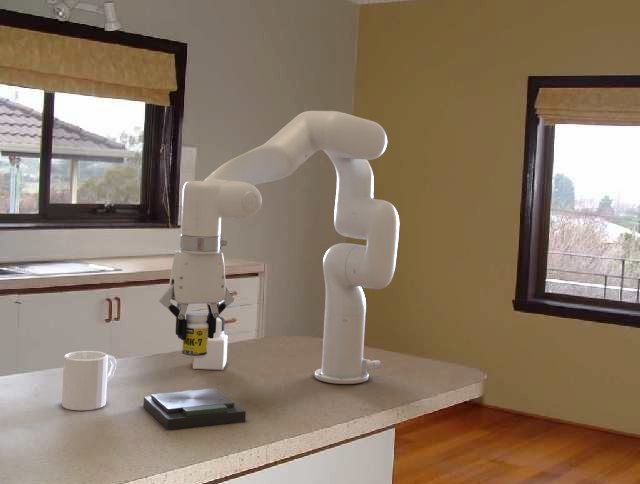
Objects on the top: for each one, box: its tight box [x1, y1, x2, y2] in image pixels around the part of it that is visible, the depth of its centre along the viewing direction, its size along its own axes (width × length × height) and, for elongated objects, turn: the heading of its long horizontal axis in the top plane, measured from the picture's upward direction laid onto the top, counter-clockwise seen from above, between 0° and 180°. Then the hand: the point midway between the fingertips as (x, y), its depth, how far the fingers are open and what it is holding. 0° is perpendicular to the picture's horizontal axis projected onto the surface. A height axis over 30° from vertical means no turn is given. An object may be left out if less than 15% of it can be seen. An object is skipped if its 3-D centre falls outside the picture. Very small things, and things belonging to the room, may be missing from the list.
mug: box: [61, 350, 118, 411], centre depth 174 cm, size 8×12×10 cm
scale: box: [142, 395, 247, 431], centre depth 171 cm, size 15×16×3 cm
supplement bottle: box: [181, 311, 209, 359], centre depth 171 cm, size 5×5×8 cm
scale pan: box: [150, 388, 235, 413], centre depth 171 cm, size 13×11×1 cm
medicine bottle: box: [192, 314, 228, 371], centre depth 209 cm, size 7×7×12 cm
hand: (195, 336), depth 171 cm, fingers closed on supplement bottle, 4 cm apart
